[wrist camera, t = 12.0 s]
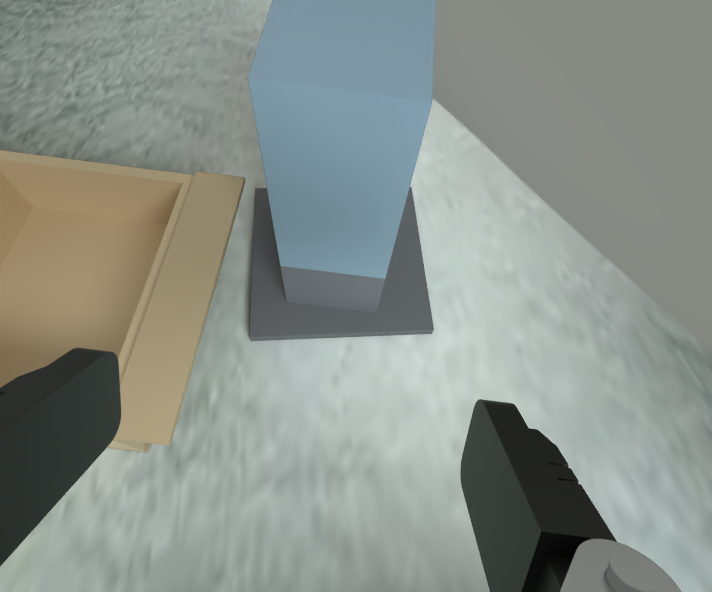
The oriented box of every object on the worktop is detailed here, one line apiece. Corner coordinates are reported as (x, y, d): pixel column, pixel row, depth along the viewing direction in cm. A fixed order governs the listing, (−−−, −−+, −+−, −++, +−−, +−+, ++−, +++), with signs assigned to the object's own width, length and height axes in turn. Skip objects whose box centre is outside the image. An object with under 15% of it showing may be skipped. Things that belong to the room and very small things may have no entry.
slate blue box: (385, 212, 27) (437, -40, 15) (376, 313, 24) (432, 101, 12) (306, 202, 27) (291, -60, 15) (286, 302, 24) (247, 77, 12)
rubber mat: (409, 193, 29) (411, 187, 28) (431, 333, 25) (433, 329, 24) (256, 194, 28) (255, 188, 28) (251, 340, 24) (249, 337, 23)
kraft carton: (257, 232, 27) (244, 177, 22) (200, 458, 21) (167, 444, 17) (-8, 198, 27) (-73, 137, 22) (-140, 418, 21) (-264, 392, 16)
